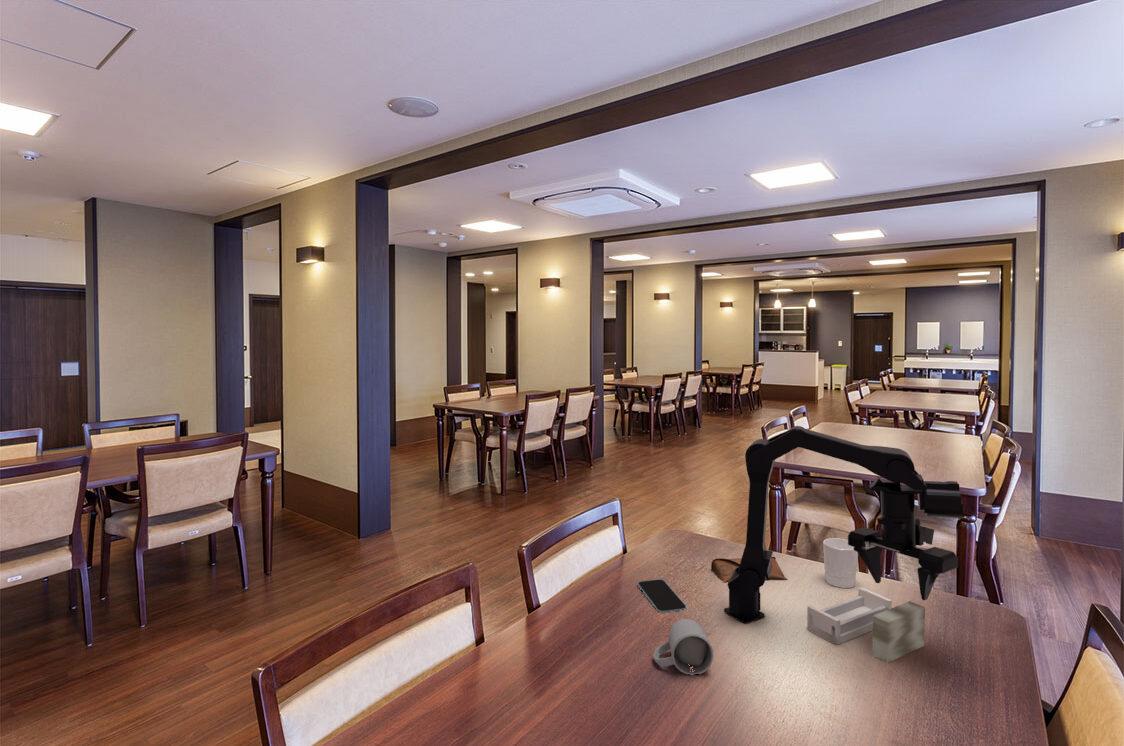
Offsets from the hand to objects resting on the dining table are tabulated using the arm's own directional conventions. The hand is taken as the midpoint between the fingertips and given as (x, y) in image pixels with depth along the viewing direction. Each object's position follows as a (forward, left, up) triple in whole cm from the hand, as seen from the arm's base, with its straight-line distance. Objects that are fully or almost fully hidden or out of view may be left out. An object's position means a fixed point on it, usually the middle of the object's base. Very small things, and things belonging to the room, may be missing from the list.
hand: (900, 590), depth 109 cm
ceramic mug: (-41, +17, -12) cm, 46 cm away
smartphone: (-28, +40, -12) cm, 51 cm away
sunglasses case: (0, +39, -12) cm, 41 cm away
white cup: (+16, +24, -12) cm, 31 cm away
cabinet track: (-1, +10, -12) cm, 15 cm away
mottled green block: (-1, -1, -12) cm, 12 cm away
